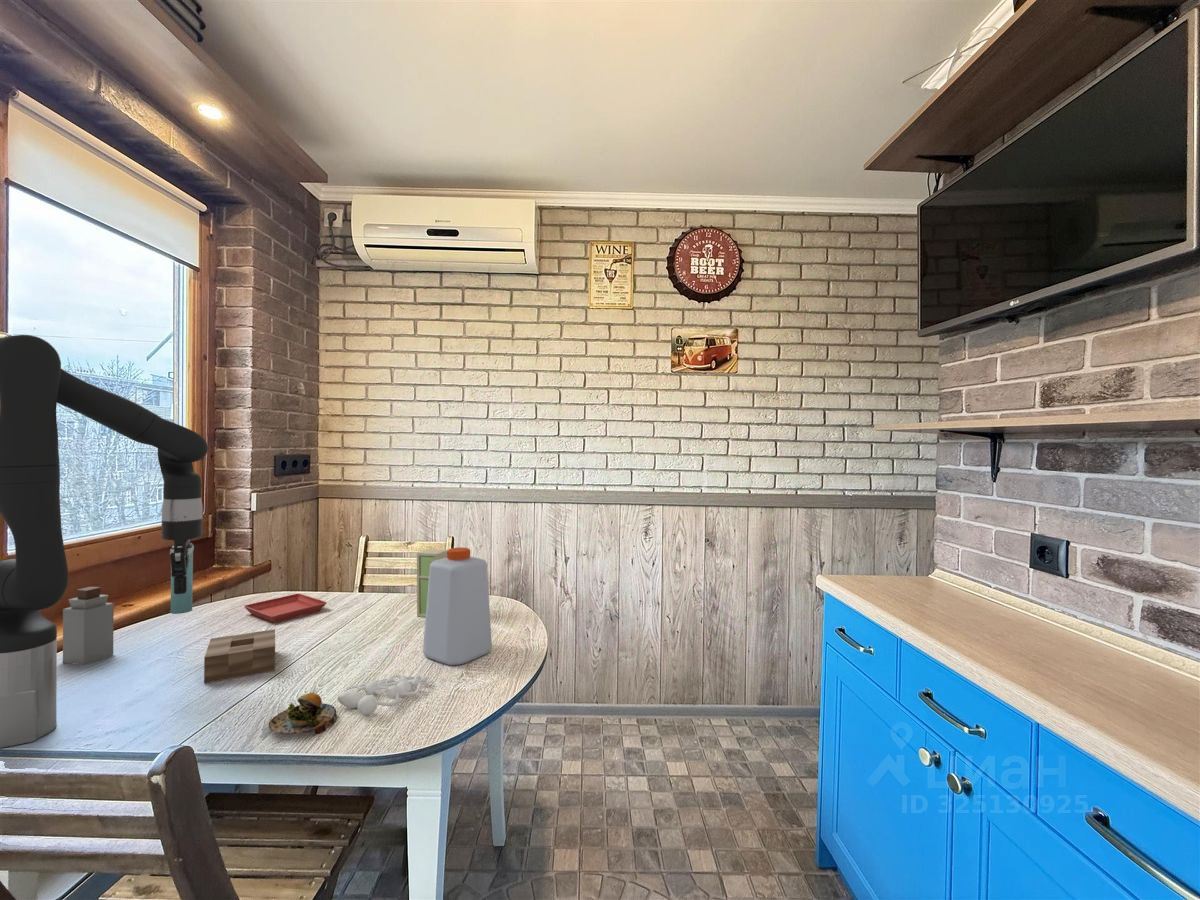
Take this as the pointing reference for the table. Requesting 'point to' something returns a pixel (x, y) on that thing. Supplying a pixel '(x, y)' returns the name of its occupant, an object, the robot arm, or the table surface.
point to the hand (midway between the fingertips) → (181, 590)
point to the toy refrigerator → (425, 576)
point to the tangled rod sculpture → (369, 702)
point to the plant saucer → (285, 607)
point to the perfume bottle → (88, 627)
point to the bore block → (239, 656)
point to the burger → (304, 716)
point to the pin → (183, 601)
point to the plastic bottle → (457, 609)
